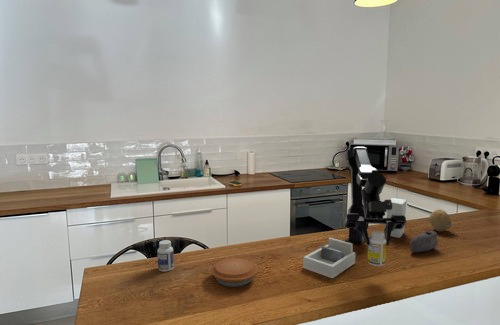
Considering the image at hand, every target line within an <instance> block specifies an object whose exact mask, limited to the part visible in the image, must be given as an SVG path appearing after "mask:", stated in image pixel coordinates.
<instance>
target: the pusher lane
mask: <svg viewBox="0 0 500 325" xmlns="http://www.w3.org/2000/svg"><path fill="white" fill-rule="evenodd" d="M324 246H326V247H329V248H332V249H336V250H339V251H342V252H344V257H343V258H342V259H340V260H338V261H337V262H333V261H330V260H327V259H324V258H321V248H322V246H321V247H319V248H318V249H315V250H314V251H312V252H310V253H309V254H307V255H305V256H303V258H302V260H303V261H302V262H303V263H302V268H303V269H305V270H308V271H310V272H314V273H316V274H320V275H322V276H325V277H328V278H330V279H334V278H335V277H337V276H339V275H340V274H341V273H343V272H344V271H345V270H348V268H350V267H351V266H353V265H354V264H356V252H355V251H353V250H354V249H353V246H354V243H350V242H346V241H344V240H341V239H336V238H333V237H328V243H327V244H326V245H324Z"/></svg>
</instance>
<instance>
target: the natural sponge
mask: <svg viewBox="0 0 500 325" xmlns="http://www.w3.org/2000/svg"><path fill="white" fill-rule="evenodd" d="M428 222H429V224H430V225H431V226H432V228H433V229H434V230H435V231H437V232H444V231H447V230H449V229H451V228H452V226H453V223H452V219H451V218H450V215H449V214H448V213H447V212H446V211H445V210H443V209H435V210H434V211H432V213H430V215H429V217H428Z"/></svg>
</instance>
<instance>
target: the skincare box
mask: <svg viewBox="0 0 500 325" xmlns="http://www.w3.org/2000/svg"><path fill="white" fill-rule="evenodd" d="M389 200H391V201H392V209H391V210H387V212H386V218H391V216H392V214H400V215H404V216H405V217H406V213H407V212H406V210H407V199H405V198H404V199H403V198H397V197H396V198H395V197H391V198H390V199H389ZM404 233H405V226H404V227H403V228H402V229H394V231H392V232H391V236H390V237H393V238H398V239H401V237H402V236H403V235H404Z"/></svg>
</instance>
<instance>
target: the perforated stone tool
mask: <svg viewBox="0 0 500 325" xmlns="http://www.w3.org/2000/svg"><path fill="white" fill-rule="evenodd" d="M437 237H438V233H437V232H436V230H435V231H434V230H430V231H429V230H428V231H425V232H422V233H419V234H417V235H416V236H414V237H413V238H412V239H411V240H410V242H409V250H410V251H411V252H412V253H422V252H423V253H424V252H428V251H429V252H430V251H431V250H433V249H435V248H436V247H437V245H438V238H437Z"/></svg>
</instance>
